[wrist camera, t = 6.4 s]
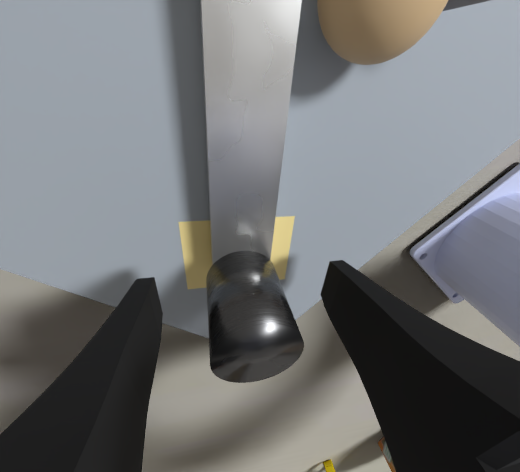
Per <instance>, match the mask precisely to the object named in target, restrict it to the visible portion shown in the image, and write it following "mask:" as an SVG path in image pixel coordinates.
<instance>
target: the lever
mask: <svg viewBox="0 0 520 472" xmlns="http://www.w3.org/2000/svg"><path fill="white" fill-rule="evenodd" d="M301 3H302V0H200V13H201V35H202V57H203V79H204V101H205V123H206V145H207V167H208V189H209V211H210V233H211V254H212V266H211V268H210V269H209V271H208V274H207V277H206V287H207V308H208V329H209V349H210V366H211V370H212V372H213V373H214V374H215V375H216V376H217V377H219V378H221V379H223V380H226V381H230V382H238V383H245V382H254V381H259V380H263V379H266V378H269V377H272V376H274V375H277V374H279V373H281V372H282V371H284V370H286V369H287V368H289V367H290V366H291V365H292V364H294V363H295V362H296V361H297V359H298V358H299V357H300V355H301V354H302V351H303V348H304V342H303V339H302V336H301V334H300V331H299V329H298V326H297V324H296V321H295V319H294V316H293V313H292V311H291V308H290V306H289V303H288V301H287V298H286V296H285V293H284V291H283V288H282V285H281V283H280V280H279V278H278V275H277V273H276V270H275V268H274V265H273V263H272V262H271V260H270V258H271V250H272V242H273V234H274V226H275V217H276V209H277V201H278V193H279V184H280V176H281V168H282V160H283V151H284V143H285V135H286V127H287V118H288V110H289V102H290V94H291V86H292V77H293V69H294V61H295V53H296V44H297V36H298V28H299V20H300V11H301Z"/></svg>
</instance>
